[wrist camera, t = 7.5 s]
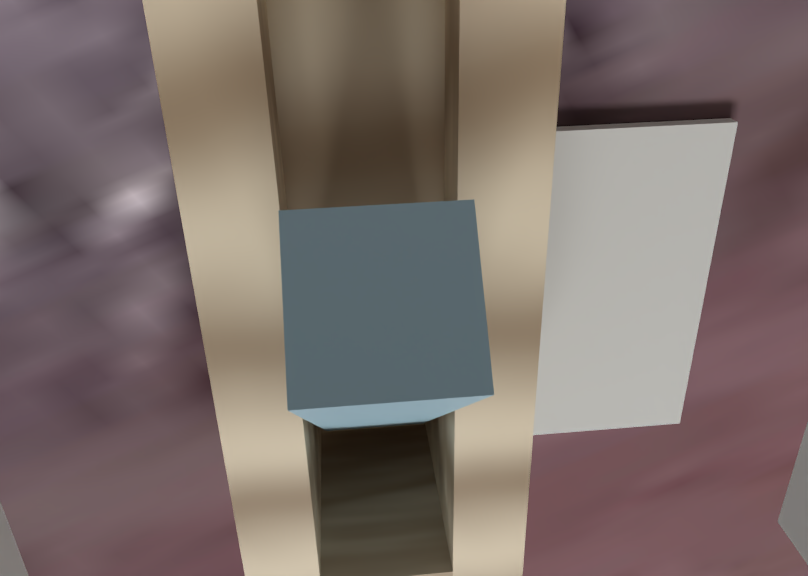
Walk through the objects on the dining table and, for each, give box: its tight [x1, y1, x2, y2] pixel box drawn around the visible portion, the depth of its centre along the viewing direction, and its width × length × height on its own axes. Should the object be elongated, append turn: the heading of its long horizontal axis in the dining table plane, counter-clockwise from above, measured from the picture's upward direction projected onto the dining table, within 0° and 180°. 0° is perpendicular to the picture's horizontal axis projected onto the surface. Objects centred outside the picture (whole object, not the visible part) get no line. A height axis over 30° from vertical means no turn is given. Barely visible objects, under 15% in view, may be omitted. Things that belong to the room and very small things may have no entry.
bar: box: [278, 199, 494, 431], centre depth 23 cm, size 17×4×4 cm
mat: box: [533, 118, 738, 435], centre depth 33 cm, size 8×15×1 cm, turn 1°
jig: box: [142, 0, 566, 576], centre depth 26 cm, size 23×10×10 cm, turn 1°
